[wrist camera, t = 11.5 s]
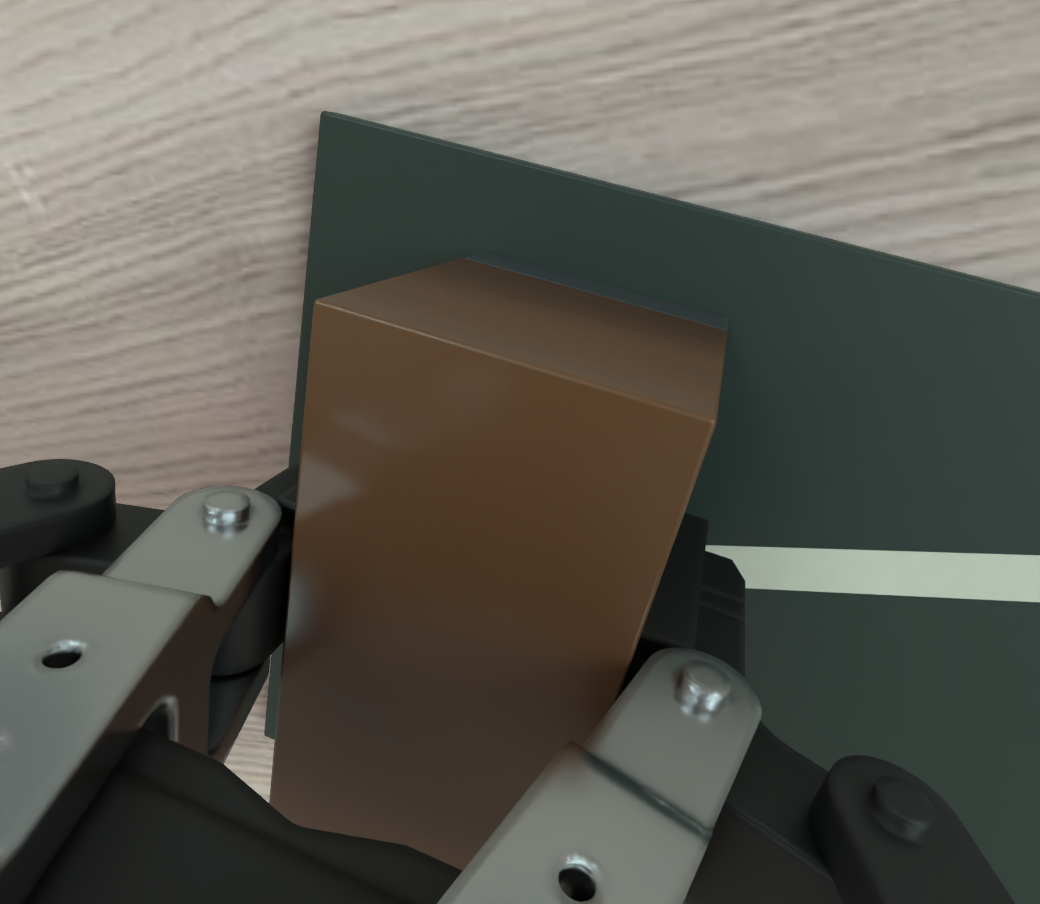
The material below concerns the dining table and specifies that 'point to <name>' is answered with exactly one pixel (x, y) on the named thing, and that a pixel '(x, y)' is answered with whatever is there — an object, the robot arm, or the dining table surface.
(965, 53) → the dining table surface
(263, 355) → the dining table surface
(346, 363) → the eraser
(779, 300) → the chalkboard
